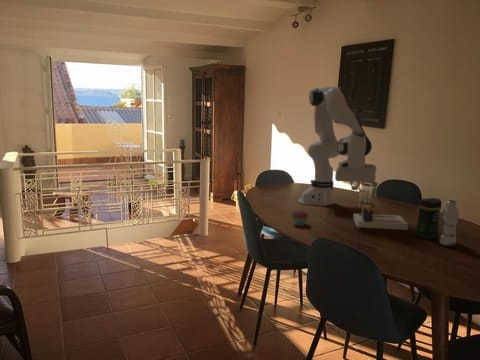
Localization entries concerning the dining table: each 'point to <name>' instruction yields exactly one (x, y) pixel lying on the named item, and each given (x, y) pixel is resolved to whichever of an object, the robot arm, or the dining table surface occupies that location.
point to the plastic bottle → (449, 224)
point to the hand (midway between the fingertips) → (354, 189)
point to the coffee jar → (428, 218)
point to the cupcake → (300, 217)
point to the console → (381, 222)
